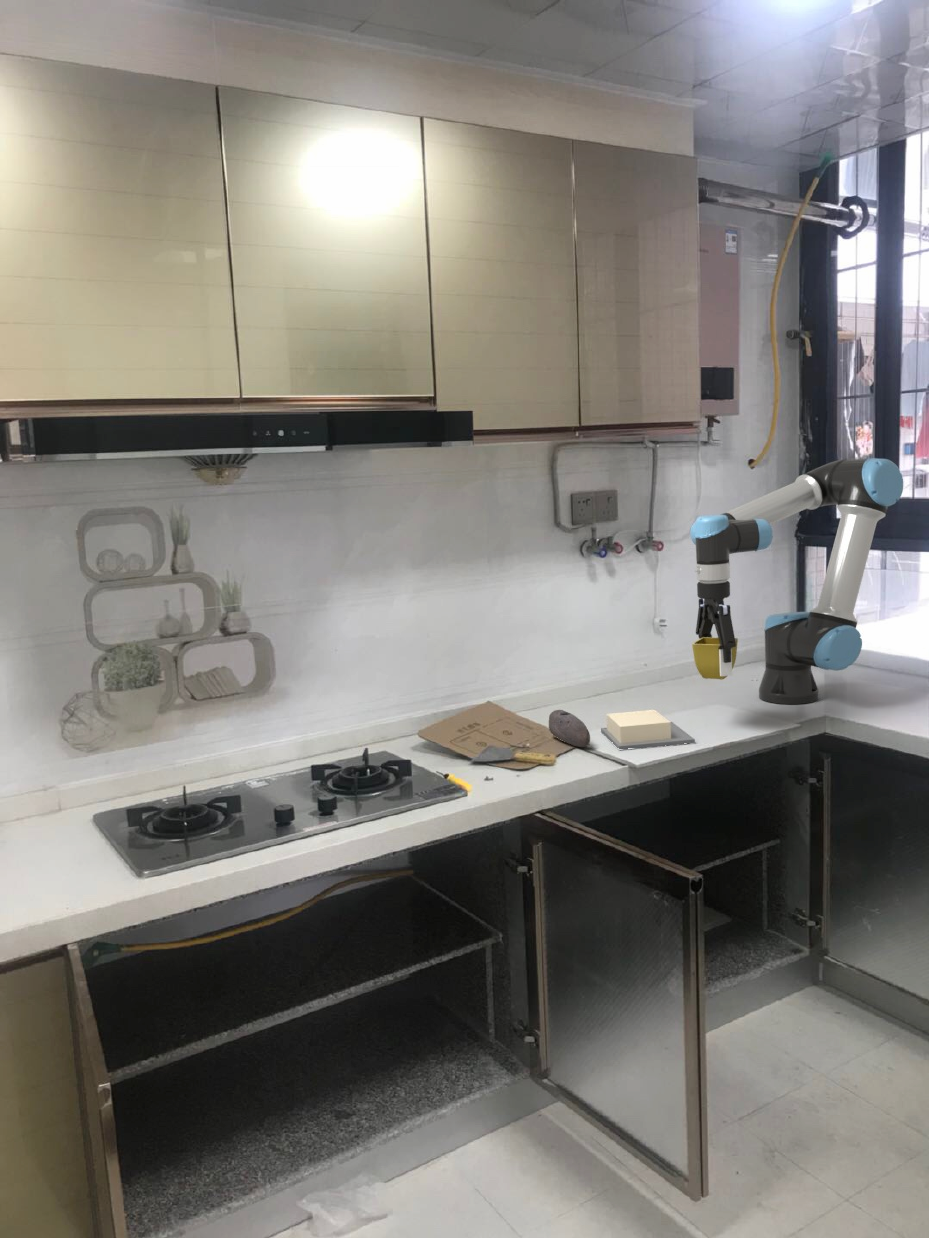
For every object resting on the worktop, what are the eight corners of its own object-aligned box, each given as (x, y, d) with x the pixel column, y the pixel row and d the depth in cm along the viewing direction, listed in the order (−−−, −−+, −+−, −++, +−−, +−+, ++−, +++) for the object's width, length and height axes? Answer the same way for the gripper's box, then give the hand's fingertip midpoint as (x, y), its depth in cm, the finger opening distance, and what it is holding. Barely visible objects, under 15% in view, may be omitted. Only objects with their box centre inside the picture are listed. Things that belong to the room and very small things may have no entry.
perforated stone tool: (597, 749, 220) (596, 720, 219) (578, 753, 218) (576, 724, 217) (566, 734, 234) (564, 707, 233) (547, 737, 232) (545, 710, 231)
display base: (671, 725, 236) (671, 705, 235) (694, 743, 220) (694, 722, 219) (601, 731, 234) (600, 712, 233) (619, 750, 218) (618, 729, 217)
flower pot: (703, 672, 235) (702, 636, 234) (739, 674, 231) (738, 637, 229) (692, 680, 228) (691, 643, 226) (729, 682, 223) (728, 645, 222)
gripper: (680, 576, 237) (683, 661, 240) (717, 588, 213) (720, 682, 217) (709, 574, 237) (712, 658, 241) (749, 585, 214) (751, 679, 217)
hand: (715, 670), depth 229 cm, fingers closed on flower pot, 12 cm apart
